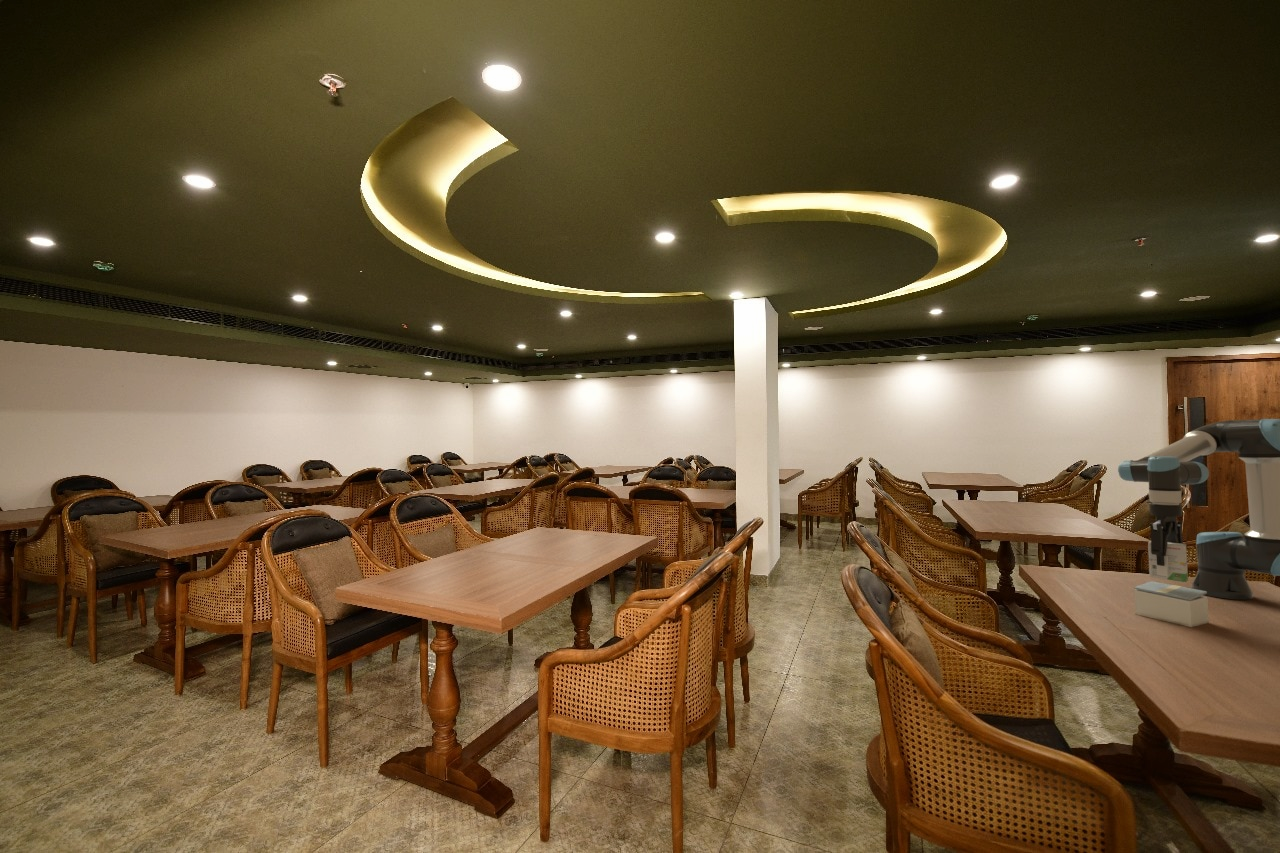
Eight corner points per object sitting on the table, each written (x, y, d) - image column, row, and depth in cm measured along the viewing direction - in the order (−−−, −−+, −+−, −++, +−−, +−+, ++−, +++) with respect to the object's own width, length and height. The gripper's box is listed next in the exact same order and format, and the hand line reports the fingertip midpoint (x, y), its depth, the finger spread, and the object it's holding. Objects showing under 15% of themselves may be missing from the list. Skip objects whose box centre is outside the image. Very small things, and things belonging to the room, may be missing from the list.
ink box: (1188, 579, 170) (1186, 543, 170) (1186, 582, 167) (1184, 545, 167) (1152, 575, 177) (1150, 539, 177) (1149, 577, 174) (1147, 541, 174)
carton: (1152, 610, 180) (1151, 586, 180) (1208, 622, 167) (1207, 597, 167) (1135, 614, 176) (1134, 589, 176) (1191, 627, 163) (1190, 601, 163)
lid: (1151, 582, 180) (1150, 580, 180) (1207, 593, 167) (1206, 591, 167) (1134, 588, 176) (1133, 586, 176) (1189, 600, 163) (1189, 598, 163)
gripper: (1166, 500, 180) (1170, 569, 179) (1134, 503, 173) (1137, 574, 172) (1196, 503, 173) (1199, 574, 172) (1163, 506, 166) (1167, 580, 165)
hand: (1168, 574), depth 172 cm, fingers closed on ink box, 6 cm apart
